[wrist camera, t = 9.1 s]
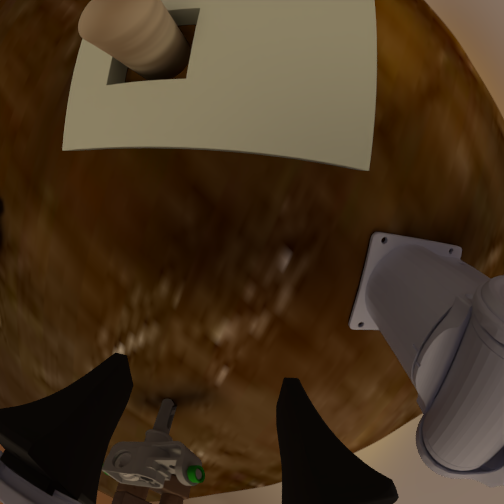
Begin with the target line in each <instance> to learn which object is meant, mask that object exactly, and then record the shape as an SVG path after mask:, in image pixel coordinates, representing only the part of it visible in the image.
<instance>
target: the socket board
mask: <svg viewBox="0 0 504 504" xmlns="http://www.w3.org/2000/svg"><path fill="white" fill-rule="evenodd" d="M161 1H162V3H163V4H164V6H165V7H166V9H167V10H168V12H169V14H170V15H171V17H172V18H173V20H174V21H175V23H176V25H177V26H178V25H194V24H197V25H196V29H195V34H194V39H193V44H192V49H191V54H190V59H189V65H188V71H187V77H186V79H166V80H150V81H138V82H129V83H125V78H126V73H127V68H128V67H127V66H126V65H124V64H123V63H121V62H120V61H118V60H117V59H115V58H114V57H112V56H110V55H109V54H107V53H106V52H104V51H102V50H101V49H99V48H98V47H96V46H94V45H93V44H91V43H89V42H88V41H86V40H84V39H82V42H81V46H80V49H79V53H78V57H77V61H76V65H75V69H74V73H73V78H72V83H71V88H70V93H69V99H68V105H67V112H66V119H65V128H64V137H63V149H62V151H66V150H95V149H120V148H172V149H197V150H214V151H227V152H239V153H249V154H259V155H268V156H276V157H283V158H291V159H298V160H304V161H310V162H317V163H322V164H328V165H334V166H339V167H344V168H349V169H354V170H364V171H369V167H370V159H371V150H372V141H373V130H374V118H375V103H376V80H377V36H376V15H375V2H374V0H161Z"/></svg>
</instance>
